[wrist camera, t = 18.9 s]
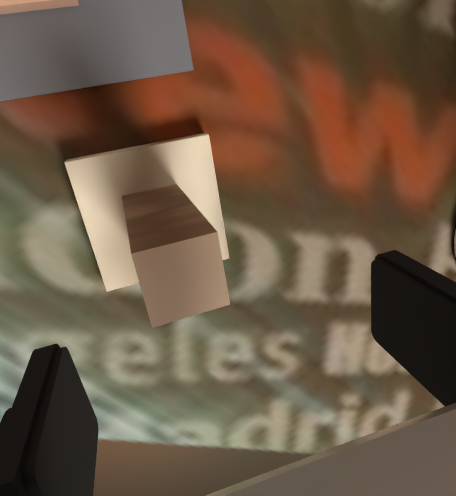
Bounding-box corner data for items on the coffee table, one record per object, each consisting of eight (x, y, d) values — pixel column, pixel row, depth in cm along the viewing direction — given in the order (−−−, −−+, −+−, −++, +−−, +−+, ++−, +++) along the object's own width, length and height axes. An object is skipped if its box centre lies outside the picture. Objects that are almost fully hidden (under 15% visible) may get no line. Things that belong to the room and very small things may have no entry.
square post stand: (203, 132, 22) (270, 154, 13) (224, 251, 25) (288, 334, 16) (66, 159, 21) (34, 204, 11) (106, 282, 24) (106, 394, 15)
